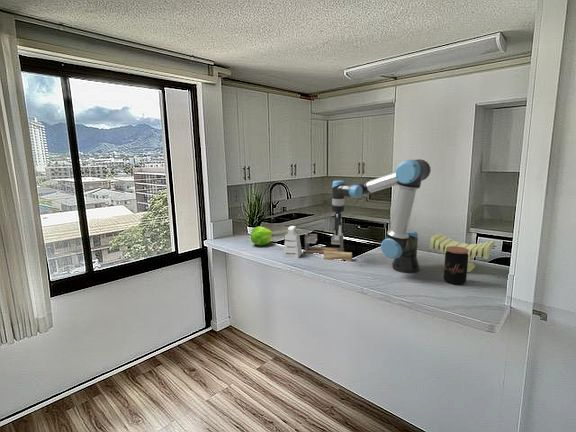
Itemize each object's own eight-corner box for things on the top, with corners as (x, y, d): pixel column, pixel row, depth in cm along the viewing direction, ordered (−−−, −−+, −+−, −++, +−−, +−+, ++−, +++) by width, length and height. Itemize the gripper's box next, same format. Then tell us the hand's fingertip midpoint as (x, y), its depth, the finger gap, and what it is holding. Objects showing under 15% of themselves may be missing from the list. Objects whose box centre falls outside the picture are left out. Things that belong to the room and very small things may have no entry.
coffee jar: (440, 281, 171) (442, 249, 168) (447, 276, 178) (450, 244, 175) (461, 287, 163) (464, 253, 160) (468, 281, 171) (471, 248, 167)
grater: (283, 257, 218) (282, 228, 214) (287, 252, 228) (287, 225, 224) (298, 258, 215) (297, 229, 211) (302, 253, 225) (301, 225, 221)
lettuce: (277, 243, 254) (278, 227, 247) (258, 252, 240) (259, 236, 234) (264, 235, 262) (265, 221, 256) (245, 244, 249) (245, 229, 243)
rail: (351, 261, 206) (351, 254, 206) (323, 259, 212) (323, 252, 211) (351, 259, 210) (352, 252, 209) (324, 257, 216) (324, 250, 215)
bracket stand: (342, 255, 218) (342, 236, 216) (303, 253, 225) (303, 235, 222) (343, 249, 231) (344, 232, 228) (306, 248, 237) (306, 230, 235)
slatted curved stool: (428, 265, 195) (430, 237, 192) (437, 259, 207) (439, 232, 203) (485, 277, 175) (488, 246, 172) (491, 269, 186) (494, 240, 183)
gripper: (342, 208, 191) (341, 242, 196) (345, 202, 215) (344, 232, 219) (329, 208, 193) (329, 242, 197) (334, 201, 217) (333, 232, 221)
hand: (337, 237), depth 208 cm, fingers open, 13 cm apart
